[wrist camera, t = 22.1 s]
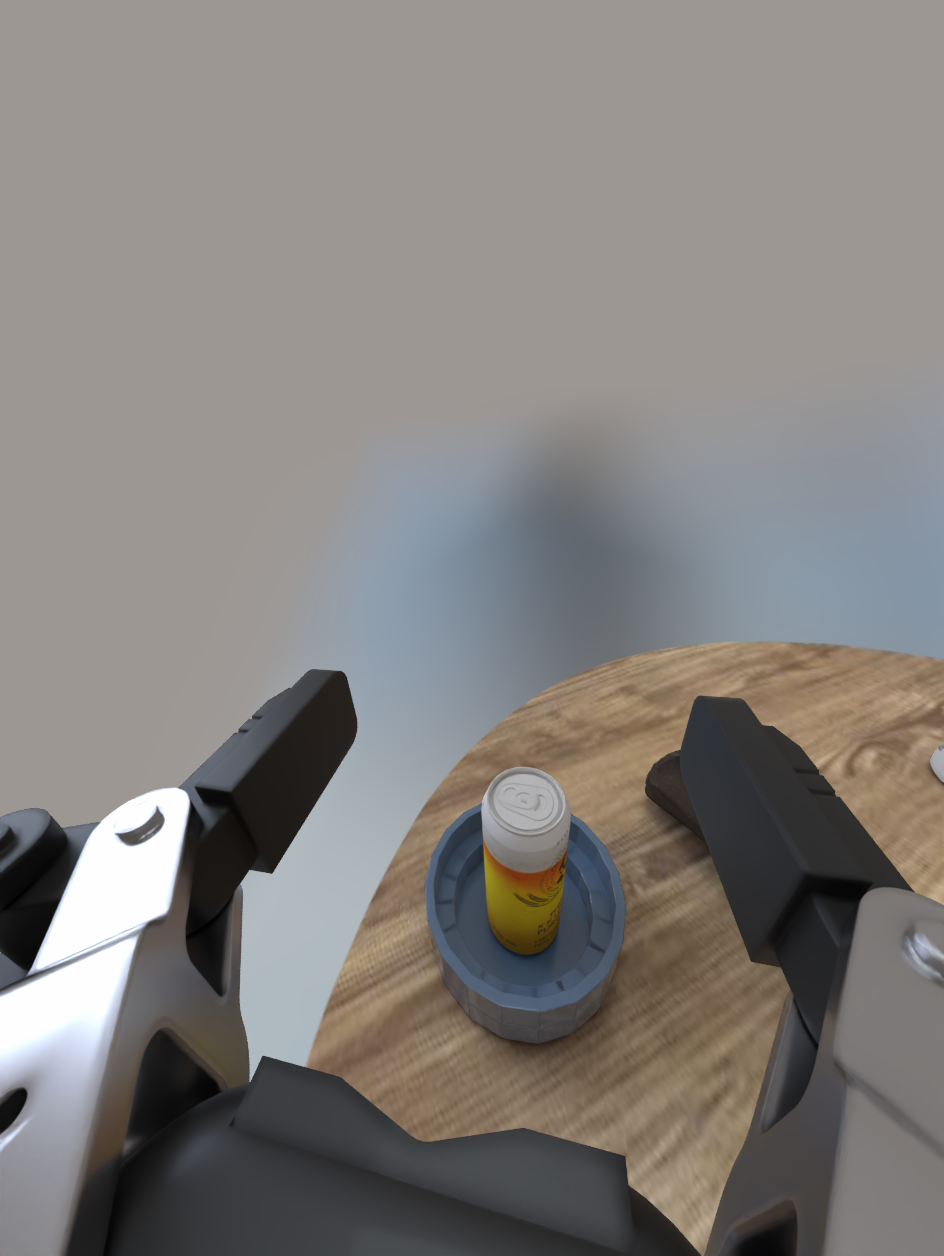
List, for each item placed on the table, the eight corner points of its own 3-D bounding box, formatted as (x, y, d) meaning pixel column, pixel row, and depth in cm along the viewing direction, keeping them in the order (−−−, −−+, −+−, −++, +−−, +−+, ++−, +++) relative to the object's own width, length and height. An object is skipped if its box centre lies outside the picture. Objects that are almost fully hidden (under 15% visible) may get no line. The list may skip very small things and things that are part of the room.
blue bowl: (396, 975, 30) (385, 937, 27) (477, 814, 42) (475, 776, 39) (598, 1104, 24) (609, 1071, 21) (624, 871, 36) (633, 832, 33)
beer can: (552, 972, 29) (565, 853, 22) (477, 942, 31) (468, 824, 24) (563, 891, 34) (576, 773, 27) (498, 869, 36) (495, 754, 29)
